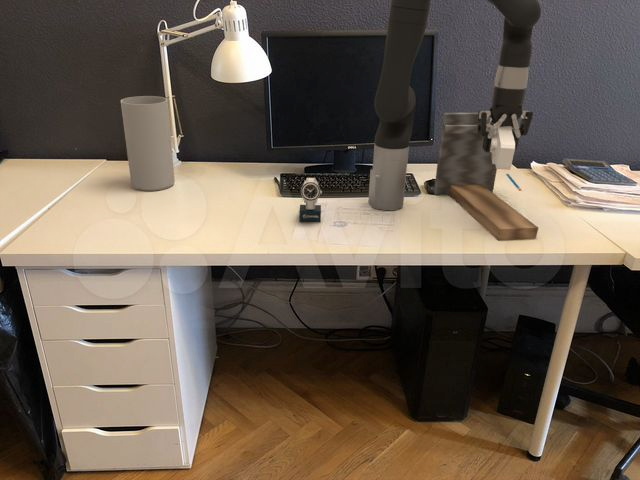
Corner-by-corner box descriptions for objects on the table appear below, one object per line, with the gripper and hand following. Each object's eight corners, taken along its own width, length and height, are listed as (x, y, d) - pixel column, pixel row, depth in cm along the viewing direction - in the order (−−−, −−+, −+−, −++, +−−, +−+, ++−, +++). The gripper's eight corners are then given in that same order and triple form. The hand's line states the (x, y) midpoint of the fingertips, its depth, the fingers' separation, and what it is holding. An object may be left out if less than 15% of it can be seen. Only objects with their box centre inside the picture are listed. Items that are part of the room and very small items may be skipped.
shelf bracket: (501, 147, 153) (510, 105, 146) (509, 192, 134) (520, 147, 126) (482, 146, 154) (489, 104, 147) (487, 190, 135) (496, 145, 127)
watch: (299, 225, 137) (299, 184, 132) (300, 213, 144) (300, 173, 139) (321, 225, 137) (322, 184, 132) (320, 213, 144) (322, 174, 139)
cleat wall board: (483, 241, 131) (499, 144, 121) (433, 193, 161) (443, 112, 151) (550, 237, 134) (572, 143, 124) (489, 191, 164) (503, 112, 154)
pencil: (518, 191, 166) (519, 189, 165) (504, 174, 181) (505, 172, 181) (521, 191, 166) (521, 189, 165) (507, 174, 181) (507, 172, 181)
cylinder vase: (122, 188, 158) (110, 101, 147) (149, 175, 168) (139, 94, 158) (158, 194, 154) (148, 106, 143) (183, 181, 164) (176, 98, 154)
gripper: (489, 87, 127) (479, 156, 135) (545, 87, 130) (532, 154, 137) (476, 82, 134) (467, 148, 141) (529, 82, 136) (517, 147, 144)
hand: (499, 151), depth 139 cm, fingers closed on shelf bracket, 6 cm apart
